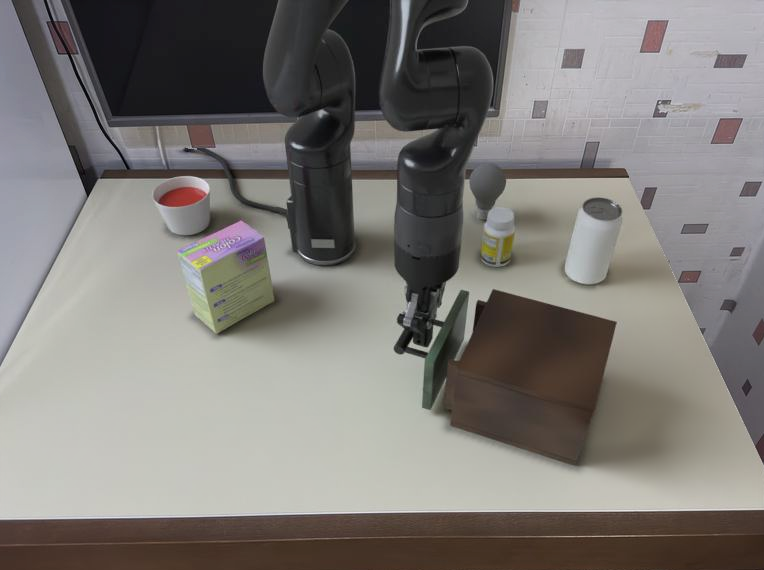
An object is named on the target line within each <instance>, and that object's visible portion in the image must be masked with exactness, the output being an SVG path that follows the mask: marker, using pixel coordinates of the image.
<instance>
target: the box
mask: <svg viewBox="0 0 764 570" xmlns="http://www.w3.org/2000/svg"><path fill="white" fill-rule="evenodd" d="M176 252H177V256H178V259H179V263H180V266H181V270H182V274H183V277H184V281H185V284H186V288H187V291H188V295H189V298H190V302H191V305H192V309H193V312H194V315H195V316H196V317H197V318H198V319H199V320H200V321H201V322H202V323H203V324H204V325H205V326H207V327H208V328H209V329H210V330H211V331H212V332H213V333H214V334H216V335H218V334H219V333H221V332H222V331H225V330H226V329H228V328H229V327H231V326H233V325H235V324H236V323H238V322H240V321H242V320H243V319H245V318H247V317H248V316H250V315H252V314H254V313H256V312H257V311H260V310H262V309H263V308H264V307H266V306H268V305H270V304H273V303H274V302H275V300H276V299H275V295H274V288H273V282H272V277H271V276H272V275H271V271H270V270H271V269H270V264H269V259H268V253H267V252H268V251H267V247H266V242H265V236H264V235H263V234H261V233H260V232H258V231H257V230H256V229H254V228H253V227H252V226H250V225H248V224H247V223H246V222H244V221H243V220H239V221H237V222H235V223H233V224H231V225H229V226H226V227H224V228H222V229H221V230H218V231H216V232H214V233H211V234H209V235H208V236H206V237H204V238H201V239H199V240H198V241H195V242H193V243H191V244H189V245H187V246H185V247H182V248H180V249H178V250H176Z"/></svg>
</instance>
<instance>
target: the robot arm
mask: <svg viewBox="0 0 764 570" xmlns="http://www.w3.org/2000/svg"><path fill="white" fill-rule="evenodd" d="M348 2H349V0H277V5H276V9H275V12H274V16H273V20H272V23H271V26H270V30H269V34H268V37H267V40H266V41H267V42H266V45H265V49H264V54H263V60H262V61H263V62H262V80H263V85H264V89H265V94H266V97H267V99H268V101H269V102H270V104H271V106H272V107H273V108H274V110H275V111H276V112H278V113H279V114H280V115H282V116H284V117H286V118H297V119H296V120H295V122H294V123H293V124H292V125H291V126H289V128H288V129H287V131H286V133H285V136H284V148H285V156H286V157H285V158H286V164H287V171H288V173H287V174H288V179H289V180H288V181H289V189H290V196H289V197H288V198H287V200H286V208H283V207H280V206H272V205H268V204H262V203H260V202H259V203H258V202H255V201H252V200H249V199H246V198H245V197H243V196H242V195H241V194H239V192H238V191H237V189H236V185H235V181H234V177H233V176H232V173H231V171H230V168H229V165H228V163H227V162H226V160H225V158H223V157H222V156H220V155H219V154H218V153H216V152H214V151H213V150H210V149H209V148H206V147H204V148H197V150H196V151H200V152H202V153H203V154H204V153H205V154H207V155H208V156H209V157H212V158H213V159H215V160H216V161H218V162H219V163H220V164H221V166H222V168H223V171H224V173H225V176H226V178H227V180H228V184H229V188H230V192H231V194H232V195H233V197H234V198H235V199H236V200H237V201H238V202H240V203H242V204H244V205H246V206H249V207H252V208H255V209H259V210H263V211H267V212H272V213H277V214H278V213H279V214H283V215H286V222H287V229H288V230H289V234H290V241H291V248H292V252H293V253H296V254H298V256H299V257H300V258H301V259H302V260H303V261H305V262H307V263H309V264H312V265H316V266H333V265H337V264H341V263H343V262H345V261H347V260H348V259H350V258H351V257H352V256H353V254H354V253H355V251H356V235H355V217H354V216H355V215H354V213H355V212H354V194H353V193H354V191H353V171H352V155H351V154H352V151H351V150H352V149H351V143H352V141H353V138H354V135H355V129H356V72H355V67H354V60H353V58H352V55H351V52H350V49H349V47H348V45H347V43H346V42H345V40H344V38H342V36H341V35H340V34H339V33H337V31H334V30H331V29H329V27H330V26H331V24H332V23H333V21H334V20H335V18H336V17H337V16H338V15H339V13H340V12H341V11H342V9H343V8H344V7H345V5H346V4H347V3H348ZM468 3H469V0H389V19H388V29H387V38H386V45H385V50H384V55H383V61H382V66H381V72H380V76H379V83H378V84H379V85H378V102H379V107H380V111H381V114H382V116H383V118H384V119H385V120H386V122H387V123H388V124H389V126H390V127H391V128H393V129H394V130H396V131H398V132H405V133H409V132H418V131H427V130H428V131H430V130H434V131H433V132H431V133H429V134H426V135H424V136H421V137H419V138H417V139H414V140H411V141H409V142H408V143H407V144H405V145H404V146H403V147H402V148H401V150H400V151H399V153H398V156H397V162H396V163H397V164H396V165H397V167H396V174H397V175H396V203H395V208H394V209H395V210H394V216H393V217H394V218H393V219H394V222H393V223H394V224H393V227H394V228H393V230H394V231H393V249H394V250H393V265H394V268H395V271H396V273H397V275H399V276H400V277H401V279H403V281H405V284H404V296H405V301H406V311H402V313H399V314H398V315H397V316H396V324H397V325H399V326H400V327H401V328H402V329H403V330H404V329H405V330H408V331H413V338H412V343H413V344H414V345H416V346H420V347H423V348H429V347H430V345H431V343H432V340H433V338H434V337H433V336H434V325H433V323H434V320H435V319H437V316H438V315H437V314H438V308H439V309H440V307H441V306H442V303H443V301H442V300H443V296H444V293H445V289H446V285H447V282H448V281H450V280H451V279H452V278H454V277H455V275H456V274H457V272H458V271H459V267H460V260H461V249H462V239H463V238H462V237H463V229H464V193H465V192H464V191H465V180H466V172H467V167H468V163H469V161H470V158H471V156H472V153H473V150H474V147H475V145H476V142H477V139H478V138H479V135H480V132H481V130H482V129H483V126H484V124H485V121H486V119H487V116H488V113H489V111H490V107H491V103H492V98H493V93H494V75H493V70H492V67H491V65H490V62H489V60H488V59H487V57H486V55H485V54H484V53H483V52H482V51H481V50H480V49H478V48H476V47H474V46H468V45H467V46H466V45H462V46H461V45H460V46H459V45H457V46H448V47H434V48H433V47H432V48H421V49H417V48H418V40H419V36H420V34H421V32H422V31H423V29H424V28H425V27H426V26H428V25H430V24H433V23H436V22H440V21H443V20H446V19H449V18H452V17H456V16H458V15H459V14H461V13H462V12H463V11H465V9H466V8H467V6H468ZM192 150H193V151H195V150H194V149H188V148H186V146H185V147H184V148H183V149H182V151H183V152H184V153H187V152H189V151H192Z"/></svg>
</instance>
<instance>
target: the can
mask: <svg viewBox="0 0 764 570" xmlns="http://www.w3.org/2000/svg"><path fill="white" fill-rule="evenodd" d="M582 203H583V204H582V207H581V208H580V209H579V210H578V212H577V214H576V218H575V221H574V227H573V232H572V235H571V237H570V238H571V239H570V242H569V247H568V251H567V255H566V259H565V264H564V273H565V274H566V275H567V277H568V278H569V279H570V280H572V281H573V282H575V283H577V284H580V285H584V286H585V285H586V286H592V285H596V284H600V283H601V282H602V281H604V280H605V278H606V277H607V274H608V271H609V268H610V265H611V261H612V258H613V255H614V251H615V248H616V244H617V242H618V238H619V236H620V235H619V234H620V232H621V227H622V225H623V217H622V215H623V209H622V206H621V205H620V204H619V203H618V202H616V201H614V200H613V199H610V198H607V197H599V196H598V197H597V196H596V197H590V198H588V199H586V200H585V201H584V202H582Z"/></svg>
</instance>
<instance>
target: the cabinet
mask: <svg viewBox="0 0 764 570" xmlns="http://www.w3.org/2000/svg"><path fill="white" fill-rule="evenodd" d="M486 302H487V303H486V305H485V307H484V309H483V311H482V314H481V316H480V318H479V320H478V322H477V324H476V327H475V329H474V331H473V330H472V332H473V333H472V332H471V335H470V338H469V340H468V342H467V344H466V346H465V349H464V350H463V353H462V355H461V357H460V359H459V360H458V361H459V363H458V366H457V368H456V376H455V385H454V394H453V404H452V410H451V413H450V414H451V415H450V423H449V426H450V427H453V428H456V429H459V430H463V431H465V432H469V433H471V434H475V435H479V436H481V437H484V438H487V439H490V440H494V441H496V442H499V443H504V444H506V445H509V446H512V447H514V448H519V449H521V450H525V451H528V452H531V453H534V454H538V455H541V456H544V457H546V458H550V459H552V460H556V461H559V462H562V463H565V464H569V465H571V466H574V467H575V466H576V464H577V461H578V458H579V455H580V452H581V450H582V447H583V444H584V441H585V438H586V435H587V432H588V430H589V427H590V424H591V420H592V419H593V416H594V413H595V410H596V406H597V403H598V398H599V395H600V391H601V387H602V383H603V379H604V375H605V371H606V367H607V363H608V360H609V355H610V351H611V347H612V344H613V339H614V336H615V331H616V327H617V323H618V322H617V321H616V320H612V319H608V318H604V317H600V316H597V315H594V314H593V315H592V314H589V313H585V312H581V311H577V310H574V309H570V308H566V307H563V306H559V305H555V304H551V303H547V302H544V301H539V300H537V299H533V298H528V297H525V296H521V295H517V294H513V293H510V292H506V291H502V290H499V289H495V288H493V289H492V290H491V292H490V294H489V297H488V298H487V301H486Z"/></svg>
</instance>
